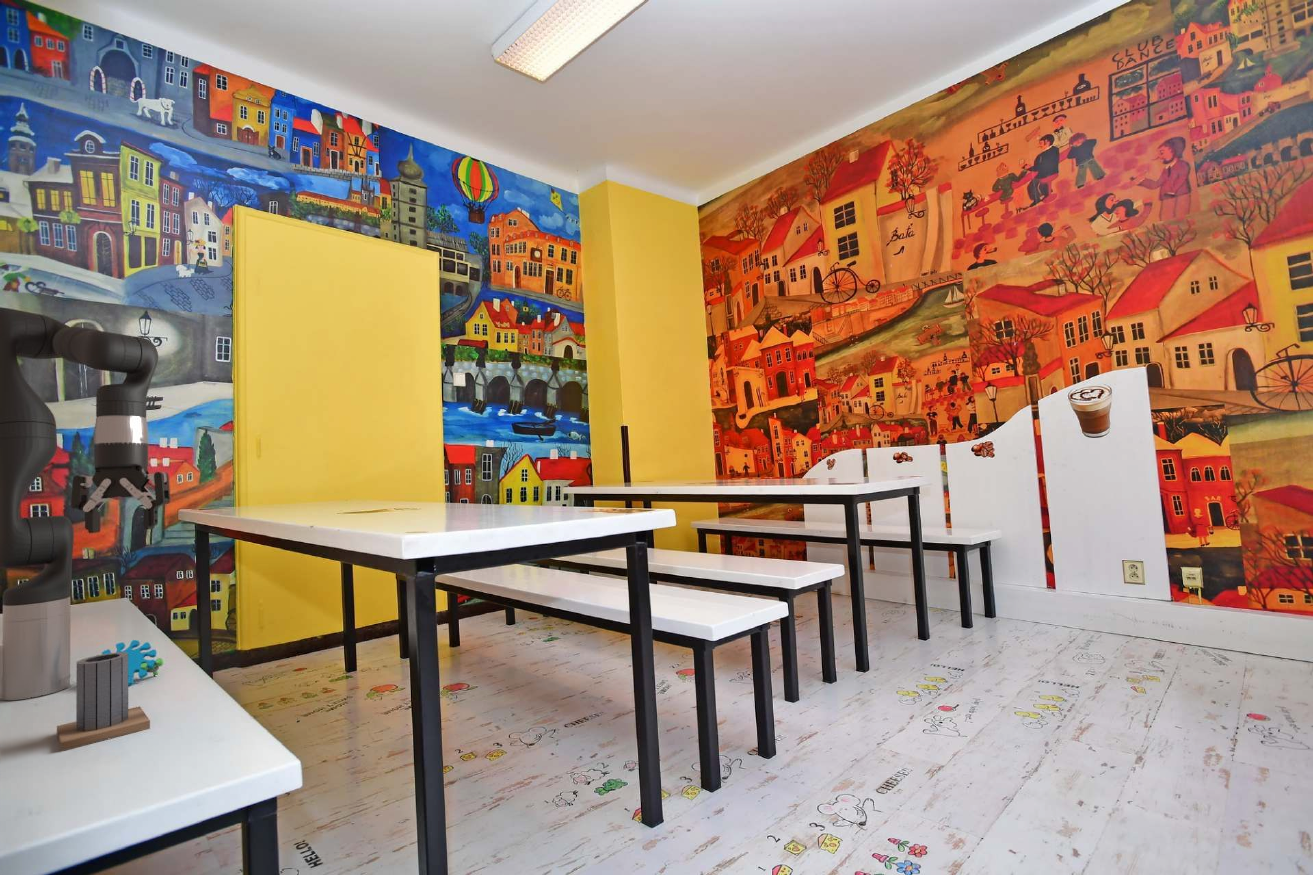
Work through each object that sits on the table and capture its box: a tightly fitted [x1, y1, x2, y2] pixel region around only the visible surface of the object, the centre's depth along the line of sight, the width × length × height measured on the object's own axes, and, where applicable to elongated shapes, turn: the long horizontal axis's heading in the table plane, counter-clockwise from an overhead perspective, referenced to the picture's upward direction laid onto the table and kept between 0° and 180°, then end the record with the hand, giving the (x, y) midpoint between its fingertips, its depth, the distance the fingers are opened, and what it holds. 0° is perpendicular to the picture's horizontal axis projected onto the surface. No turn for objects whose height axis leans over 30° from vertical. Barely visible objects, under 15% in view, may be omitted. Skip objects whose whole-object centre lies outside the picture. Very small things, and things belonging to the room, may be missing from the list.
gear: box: [101, 639, 164, 687], centre depth 123 cm, size 11×6×10 cm
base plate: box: [56, 706, 151, 752], centre depth 97 cm, size 10×10×1 cm
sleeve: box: [75, 652, 129, 732], centre depth 97 cm, size 6×6×10 cm
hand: (121, 531), depth 113 cm, fingers open, 8 cm apart
